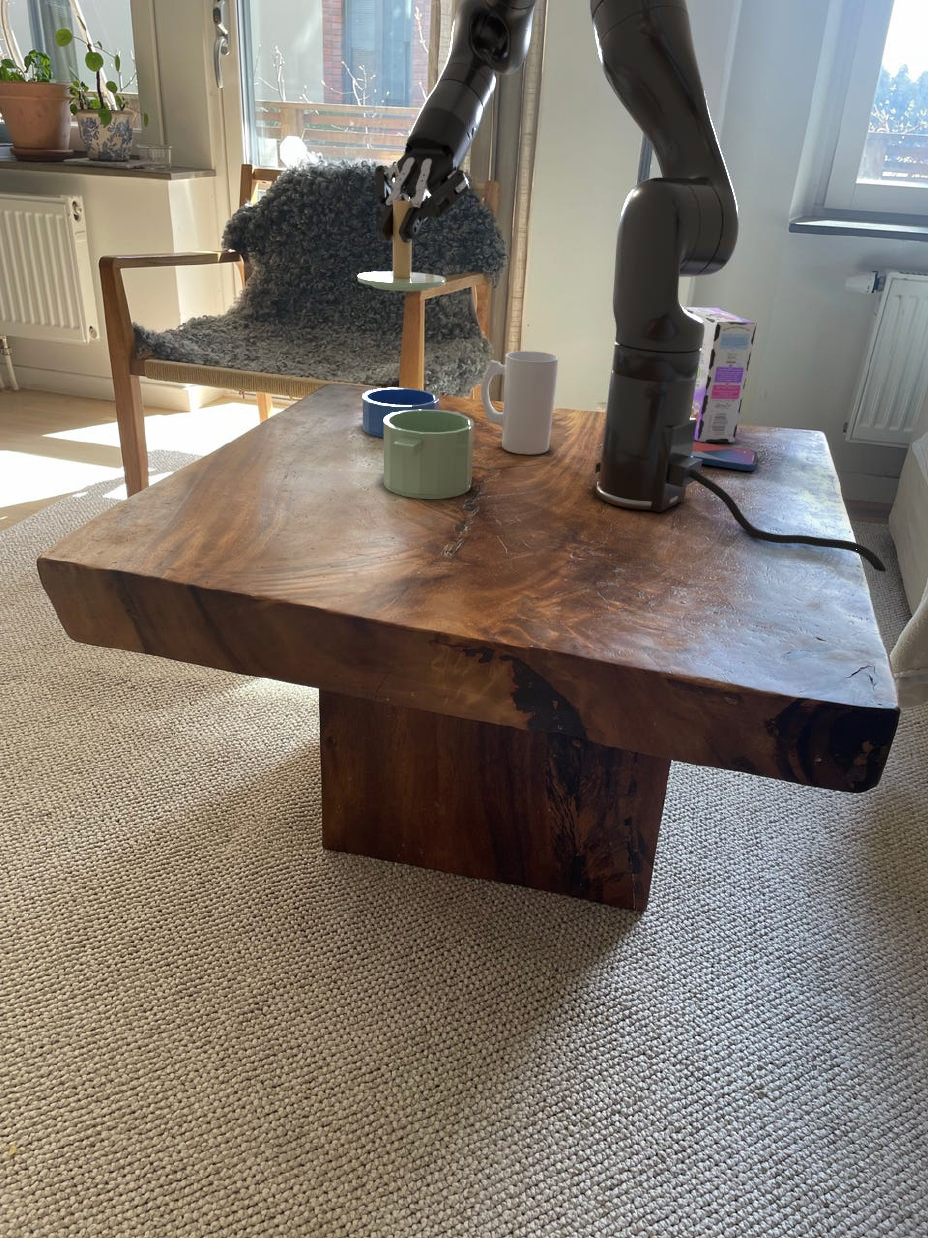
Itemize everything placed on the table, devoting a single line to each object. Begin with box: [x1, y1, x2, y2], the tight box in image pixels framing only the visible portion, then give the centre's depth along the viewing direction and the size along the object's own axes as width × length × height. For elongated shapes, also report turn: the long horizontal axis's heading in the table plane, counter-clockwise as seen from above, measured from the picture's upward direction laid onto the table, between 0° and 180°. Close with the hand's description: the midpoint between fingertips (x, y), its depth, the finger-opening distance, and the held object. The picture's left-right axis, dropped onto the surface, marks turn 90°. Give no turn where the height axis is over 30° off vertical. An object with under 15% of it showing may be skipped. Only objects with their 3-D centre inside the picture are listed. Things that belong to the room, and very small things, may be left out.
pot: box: [383, 409, 475, 500], centre depth 102 cm, size 10×16×8 cm, turn 161°
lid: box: [357, 200, 447, 292], centre depth 113 cm, size 11×11×10 cm
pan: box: [362, 387, 440, 439], centre depth 123 cm, size 10×10×4 cm
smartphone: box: [691, 441, 758, 472], centre depth 118 cm, size 7×15×1 cm, turn 71°
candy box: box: [682, 306, 758, 443], centre depth 127 cm, size 14×6×16 cm, turn 8°
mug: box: [480, 350, 560, 456], centre depth 116 cm, size 10×7×12 cm, turn 69°
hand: (393, 236), depth 111 cm, fingers closed on lid, 2 cm apart
